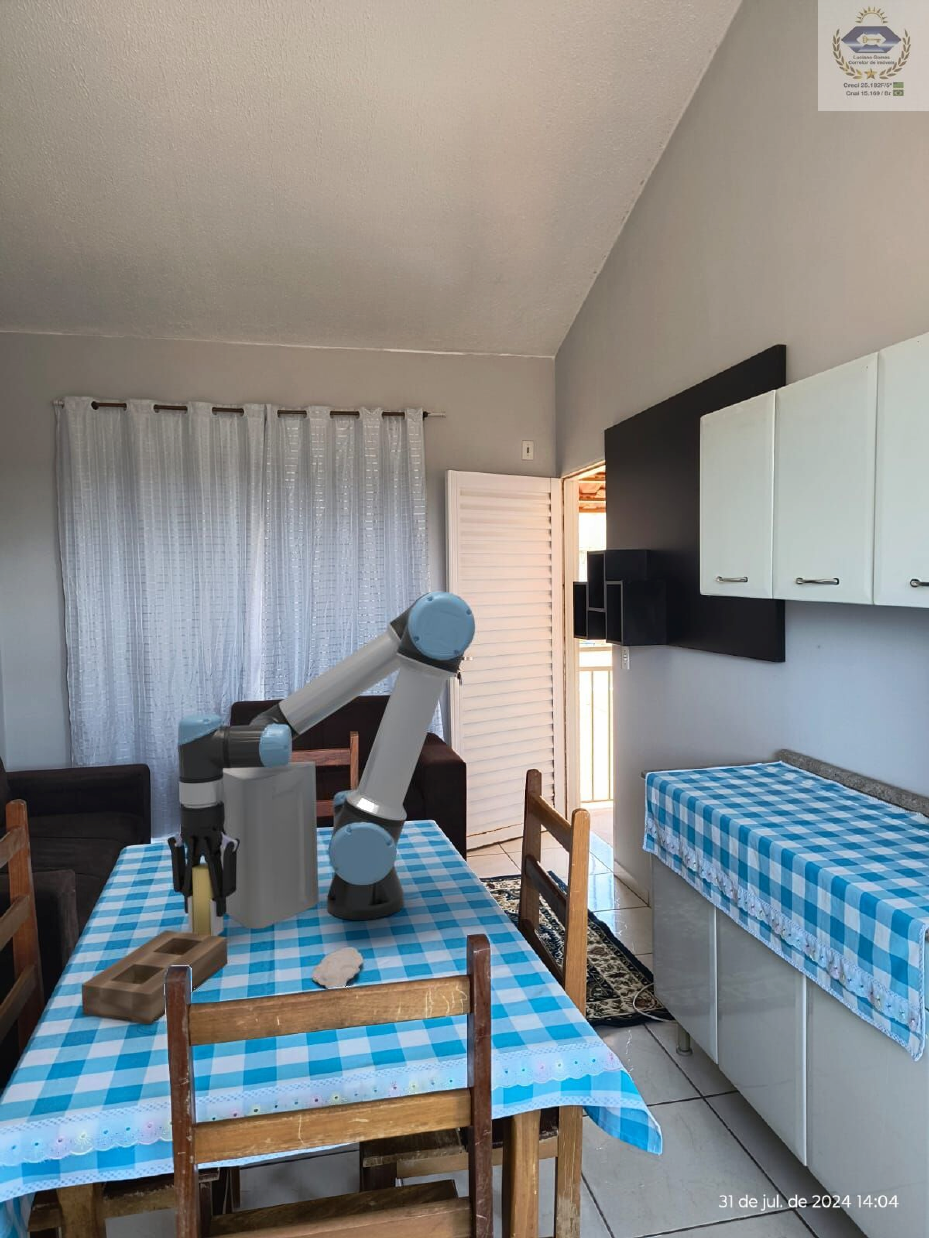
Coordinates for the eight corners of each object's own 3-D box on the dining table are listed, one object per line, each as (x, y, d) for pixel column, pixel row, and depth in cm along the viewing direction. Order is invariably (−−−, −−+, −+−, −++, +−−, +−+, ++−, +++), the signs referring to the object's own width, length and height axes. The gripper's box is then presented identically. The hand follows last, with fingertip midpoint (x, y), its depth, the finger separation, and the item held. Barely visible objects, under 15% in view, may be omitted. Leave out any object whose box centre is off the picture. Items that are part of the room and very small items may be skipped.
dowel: (222, 939, 147) (220, 863, 147) (209, 949, 143) (207, 870, 143) (203, 937, 148) (200, 861, 148) (190, 947, 145) (187, 869, 144)
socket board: (227, 963, 138) (226, 937, 138) (151, 1024, 119) (150, 994, 119) (166, 955, 141) (165, 930, 141) (82, 1014, 122) (81, 984, 122)
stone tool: (362, 997, 126) (363, 960, 141) (362, 976, 126) (364, 942, 141) (308, 997, 125) (315, 960, 140) (309, 977, 125) (316, 942, 140)
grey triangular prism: (203, 930, 152) (199, 780, 151) (225, 899, 167) (221, 763, 166) (306, 927, 152) (302, 778, 151) (319, 897, 167) (315, 761, 166)
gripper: (255, 799, 146) (259, 928, 147) (174, 794, 151) (178, 919, 152) (232, 810, 139) (236, 945, 140) (147, 805, 144) (152, 936, 145)
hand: (206, 931), depth 146 cm, fingers closed on dowel, 4 cm apart
